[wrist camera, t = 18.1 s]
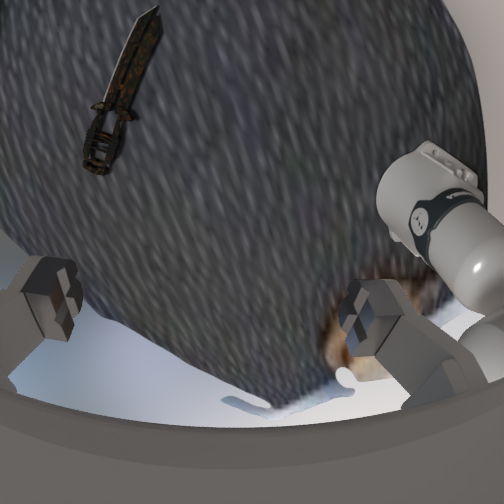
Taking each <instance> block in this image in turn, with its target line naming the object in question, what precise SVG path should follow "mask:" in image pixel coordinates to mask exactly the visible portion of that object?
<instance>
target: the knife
mask: <svg viewBox="0 0 504 504" xmlns="http://www.w3.org/2000/svg"><path fill="white" fill-rule="evenodd" d="M156 6H157V5H156ZM156 6H155V7H153V8H151V9H150V10H148V11H147V12H145V13H144V14H142V15H141V16H139V17H138V18H137V19H136V21H135V23H134V25H133V27H132V30H131V32H130V34H129V36H128V38H127V40H126V43H125V45H124V47H123V50H122V52H121V54H120V57H119V59H118V62H117V64H116V67H115V69H114V72H113V74H112V77H111V80H110V82H109V85H108V88H107V91H106V93H105V96H104V99H103V102H100V103H97V104H95V105H93V106H91V109H94V110H97V113H98V114H97V116H96V117H95V119H94V120H93V121H92V124H91V128H90V129H88V131H87V132H88V133H87V134H86V135H87V136H86V138H85V139H86V140H85V143H84V148H83V153H84V159H85V160H84V161H83V165H82V166H83V168H85V169H87V170H88V171H89V172H92V173H94V174H96V175H102V176H104V175H106V174H107V173H108V169H109V168H106V165H107V163H108V162H109V161H110V160H111V159H114V158H115V155H116V153H117V150H118V149H117V148H118V146H119V143H120V140H121V139H120V136H119V137H118V135H119V132H120V123H119V122H121V121H123V122H124V121H126V120H127V121H130V122H132V120H134V118H132V117H131V116H130V114H129V110H127V109H128V107H129V104H130V101H131V99H132V96H133V93H134V91H135V88H136V86H137V83H138V81H139V78H140V76H141V74H142V71H143V69H144V67H145V64H146V62H147V60H148V58H149V55H150V53H151V51H152V49H153V47H154V45H155V42H156V40H157V38H158V36H159V34H160V32H159V26H158V20H157V15H155V16H154V18H153V20H152V22H151V24H150V26H149V28H148V30H147V32H146V35H145V37H144V39H143V41H142V43H139V41H140V38H141V36H142V34H143V32H144V30H145V28H146V26H147V24H148V22H149V20H150V18H151V16H152V14H153V12H154V10H155V8H156ZM136 47H139V50H138V52H137V54H136V56H135V59H134V61H133V63H132V66H131V68H130V71H129V73H128V76H127V78H126V81H125V83H124V85H123V84H121V83H122V81H123V78H124V76H125V73H126V71H127V68H128V66H129V63H130V61H131V58H132V56H133V54H134V52H135V49H136ZM119 90H122V91H121V94H120V97H119V99H118V102H117V105H116V110H115V114H118V115H120V116H118V118H117V121H116V124H115V128H114V131H113V134H112V137H111V135H109V134H105V133H103V132H100V131H99V133H98V132H95V131H96V128H97V124H98V121H99V118H100V116H101V115H102V114H103V113H104V111H105V110H106V111H111V109H112V106H113V105H114V102H115V99H116V97H117V94H118V91H119ZM94 134H96V135H98V137H100V138H101V139H103V140H105V141H103V140H98V139H93V138H94V136H95V135H94ZM100 135H101V136H100ZM103 136H105V137H107V138H108V139H110V140H108V139H106V138H105V137H103ZM93 141H95V142H101V143H106V144H109V143H110V144H109V145H108V149H107V151H106V150H103V149H100V148H97V147H95V146H92V144H93ZM91 148H93V149H95V150H98V151H101V152H104V153H107V154H106V157H105V161H104V164H102V163H100V162H98V159H97V160H96V161H94V160H91V159H88V157H89V153H90V149H91ZM89 162H92V163H94V164H97V165H100V166H103V168H100V167H96V166H94V165H91V164H88V163H89Z"/></svg>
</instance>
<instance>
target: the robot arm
mask: <svg viewBox="0 0 504 504" xmlns="http://www.w3.org/2000/svg"><path fill="white" fill-rule="evenodd" d="M433 150H434V152H433ZM376 203H377V209H378V212H379V215H380V217H381V218H382V220H383V221H384V222H385V223H386V224H387V226H388V227H389V233H390V236H391V238H392V239H393V240H394V241H395V242H402V243H403V244H404V245H405V246H406V247H407V248H408V249H409V250H410V251H411V252H412V253H413V254H414V255H415V256H417V257H419V256H421V257H422V259H423V260H424V261H425V263H426V264H427V265H429V266H430V267H431V268H432V269H433V270H435V271H437V272H438V274H439V275H440V276H441V278H442V279H443V280H444V282H445V283H446V284H447V286H448V287H449V289H450V290H451V291H452V293H453V294H454V296H455V297H456V299H457V300H458V301H459V302H460V303H461V304H462V305H463V306H464V307H466V308H468V309H469V310H471V311H474V312H477V313H481V314H483V315H485V317H484V318H482V319H481V320H479V321H478V322H477V323H475V324H474V325H472V326H471V327H469V328H468V329H467V330H466V331H465V332H464V333H463V334H462V336H461V337H460V339H459V340H458V342H457V341H456V340H455V339H453V338H452V337H450V336H449V335H448V334H447V333H445V332H444V331H443V330H441V329H440V328H439V327H437V326H436V325H435V324H433V323H432V322H431V321H429V320H428V319H427V318H425V317H424V316H423V315H418V314H417V312H416V311H415V309H414V307H413V305H412V304H411V302H410V300H409V299H408V297H407V295H406V294H405V292H404V291H403V289H402V287H401V286H400V284H399V282H397V281H396V280H388V279H381V280H370V279H353V280H352V281H351V282H350V284H349V286H348V288H347V290H348V293H349V295H348V296H347V297H345V298H344V299H343V300H342V302H341V304H340V307H339V314H338V318H339V324H340V327H341V329H342V330H343V331H344V332H345V333H347V334H348V335H347V337H346V340H345V341H346V344H347V346H348V349H349V352H350V355H351V357H363V356H375V358H376V359H377V360H378V361H379V362H380V363H381V364H382V365H383V367H384V368H385V369H386V370H387V371H388V372H389V373H390V374H391V375H392V376H393V377H394V378H395V379H396V380H397V381H398V382H399V383H400V384H401V385H402V386H403V388H404V389H405V390H406V391H407V392H408V393H409V394H410V395H411V396H410V397H409V398H408V399H407V400H406V401H405V402H404V403H403V405H402V406H401V410H398V411H393V412H388V413H383V414H378V415H373V416H367V417H362V418H356V419H349V420H342V421H335V422H327V423H318V424H309V425H296V426H283V427H259V428H216V427H215V428H214V427H193V426H192V427H191V426H178V425H166V424H157V423H148V422H140V421H133V420H126V419H120V418H114V417H107V416H102V415H97V414H92V413H88V412H83V411H78V410H74V409H70V408H65V407H62V406H57V405H54V404H50V403H47V402H43V401H40V400H36V399H33V398H30V397H27V396H23V395H20V394H17V390H16V387H15V386H14V384H13V383H12V382H11V381H10V379H9V378H8V377H7V376H8V375H9V374H10V373H11V372H12V371H13V370H14V369H15V368H16V367H17V366H18V365H19V364H20V363H21V362H22V361H23V360H24V359H25V358H26V357H27V356H28V355H29V354H30V353H31V352H32V351H33V350H34V349H35V348H36V347H37V346H38V345H39V344H40V343H41V342H42V341H44V338H47V339H53V340H59V341H65V342H68V340H69V338H70V335H71V333H72V330H73V327H74V322H73V319H72V318H74V317H75V316H76V315H78V314H79V312H80V310H81V307H82V301H83V289H82V285H81V283H80V282H79V280H78V279H77V278H76V277H75V276H76V274H77V272H78V270H77V267H76V263H75V262H74V261H73V260H71V259H62V258H54V257H46V256H45V257H44V256H37V255H32V256H29V257H28V259H27V260H26V262H25V263H24V264H23V266H22V267H21V268H20V270H19V271H18V273H17V274H16V276H15V277H14V279H13V280H12V282H11V283H10V285H9V286H8V288H7V289H6V290H5V289H2V290H1V291H0V504H504V225H503V224H501V223H500V222H499V221H498V220H497V219H496V218H495V217H493V216H492V215H491V214H490V213H489V212H488V211H487V210H486V208H485V206H484V205H483V204H484V196H483V193H482V192H481V191H480V190H479V189H477V175H476V174H475V173H474V172H473V171H472V170H470V169H469V168H468V167H466V166H465V165H464V164H462V163H461V162H460V161H458V160H457V159H456V158H454V157H453V156H451V155H450V154H449V153H447V152H446V151H444V150H443V149H441V148H440V147H438V146H437V145H435V144H434V143H432V142H431V141H425V142H424V143H422V144H421V145H420V146H419V147H418V148H417V149H416V150H415V151H414V152H412V153H409V154H407V155H404V156H402V157H401V158H399V159H398V160H396V161H395V162H394V163H393V164H392V165H391V166H390V167H389V168H388V169H387V171H386V172H385V173H384V175H383V177H382V179H381V181H380V183H379V186H378V190H377V197H376Z"/></svg>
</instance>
